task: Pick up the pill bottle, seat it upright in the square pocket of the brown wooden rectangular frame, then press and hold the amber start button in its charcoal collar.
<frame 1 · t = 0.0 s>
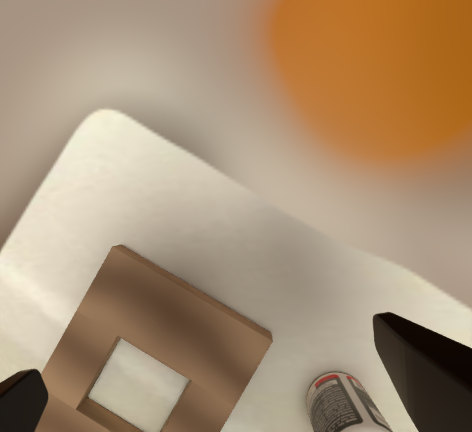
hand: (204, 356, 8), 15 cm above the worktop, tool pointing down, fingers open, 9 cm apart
pill bottle: (335, 398, 23), on the worktop
brown wooden rectangular frame: (140, 383, 23), on the worktop
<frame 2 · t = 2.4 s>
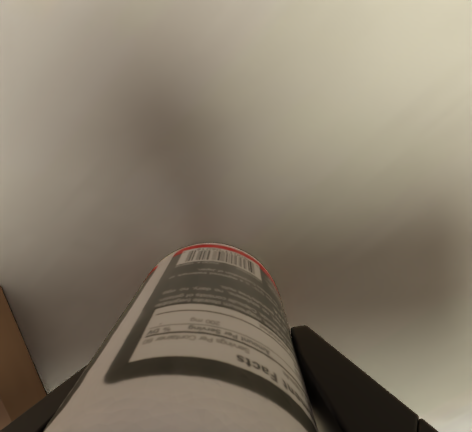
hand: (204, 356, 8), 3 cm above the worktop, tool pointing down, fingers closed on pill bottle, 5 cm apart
pill bottle: (212, 300, 10), on the worktop, touching gripper
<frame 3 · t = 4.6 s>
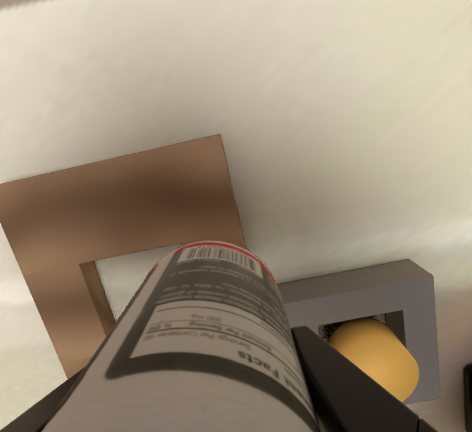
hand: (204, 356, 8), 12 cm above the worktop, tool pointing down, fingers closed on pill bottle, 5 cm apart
pill bottle: (213, 298, 10), point 9 cm above the worktop, touching gripper
button collar: (349, 328, 21), on the worktop
brown wooden rectangular frame: (151, 289, 20), on the worktop
start button: (369, 362, 17), point 3 cm above the worktop, slide at 0.0 cm
when the fingers open (3 cm above the worktop, at t = 7.2 s): pill bottle stays where it is, resting in brown wooden rectangular frame.
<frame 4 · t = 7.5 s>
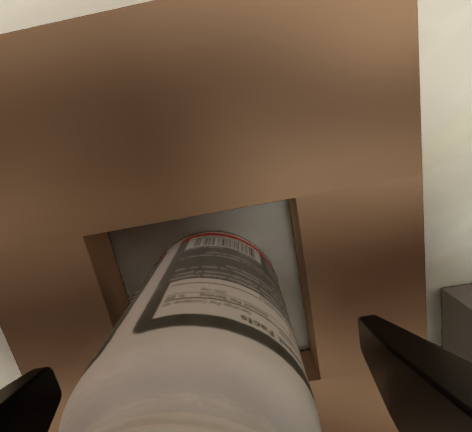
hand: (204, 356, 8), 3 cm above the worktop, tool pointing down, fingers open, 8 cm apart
pill bottle: (216, 285, 11), resting in brown wooden rectangular frame
brown wooden rectangular frame: (213, 290, 11), on the worktop
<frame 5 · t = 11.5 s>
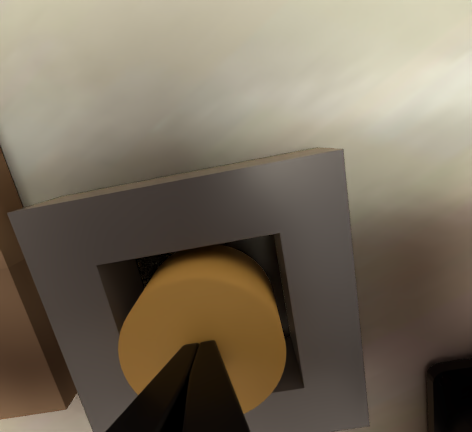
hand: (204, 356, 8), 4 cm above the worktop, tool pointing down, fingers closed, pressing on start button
button collar: (213, 289, 11), on the worktop
start button: (207, 326, 9), point 2 cm above the worktop, slide at 1.0 cm, touching gripper
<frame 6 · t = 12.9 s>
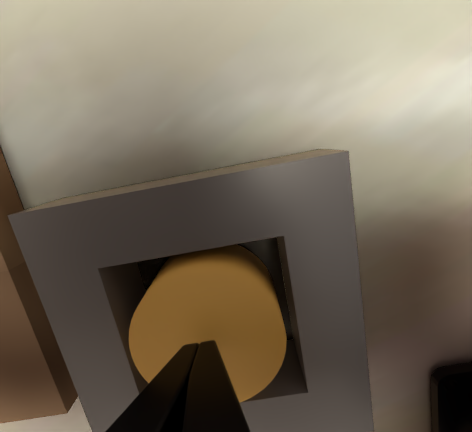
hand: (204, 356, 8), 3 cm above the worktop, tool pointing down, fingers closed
button collar: (215, 291, 11), on the worktop
start button: (211, 317, 9), point 2 cm above the worktop, slide at 1.6 cm
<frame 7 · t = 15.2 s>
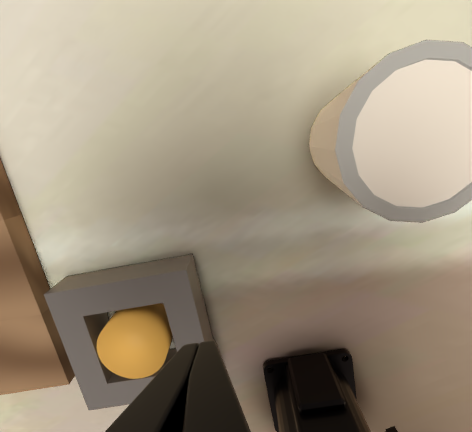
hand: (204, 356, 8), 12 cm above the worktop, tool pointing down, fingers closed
button collar: (146, 321, 21), on the worktop
white cup: (353, 139, 18), on the worktop
start button: (138, 336, 19), point 2 cm above the worktop, slide at 1.6 cm
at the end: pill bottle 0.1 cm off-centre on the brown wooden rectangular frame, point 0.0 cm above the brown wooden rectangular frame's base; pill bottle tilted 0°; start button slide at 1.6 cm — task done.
